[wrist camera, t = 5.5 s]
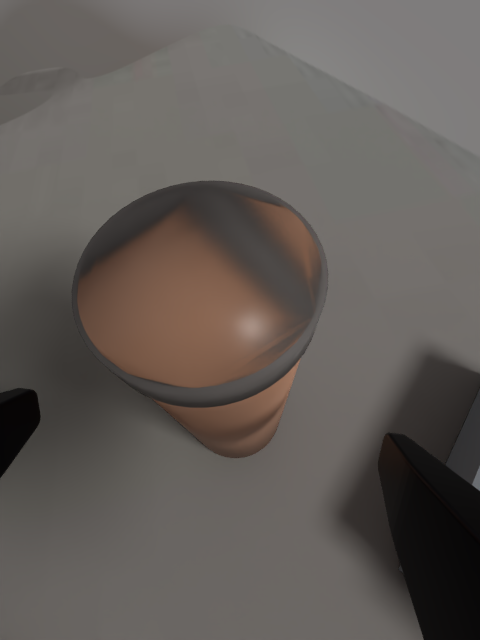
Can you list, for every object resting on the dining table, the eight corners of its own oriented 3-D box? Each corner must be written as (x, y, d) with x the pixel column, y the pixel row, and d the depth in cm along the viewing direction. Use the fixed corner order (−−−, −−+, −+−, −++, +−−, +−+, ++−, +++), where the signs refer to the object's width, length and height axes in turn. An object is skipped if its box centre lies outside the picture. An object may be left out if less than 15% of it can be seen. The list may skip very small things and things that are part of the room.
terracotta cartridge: (203, 474, 17) (83, 436, 5) (181, 382, 19) (63, 213, 7) (295, 441, 17) (377, 340, 6) (263, 356, 19) (274, 159, 8)
